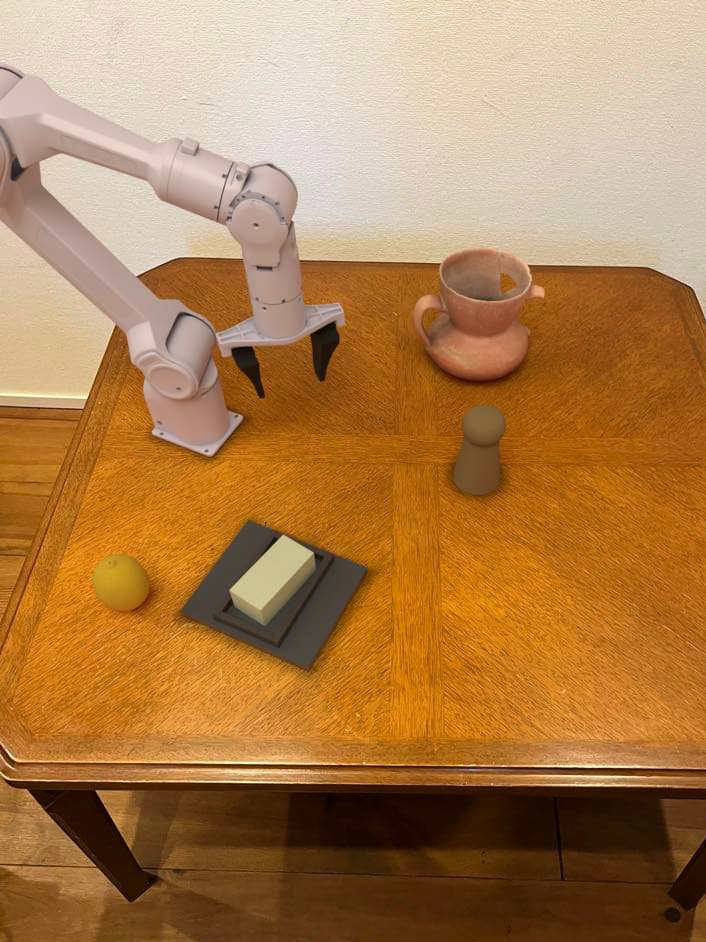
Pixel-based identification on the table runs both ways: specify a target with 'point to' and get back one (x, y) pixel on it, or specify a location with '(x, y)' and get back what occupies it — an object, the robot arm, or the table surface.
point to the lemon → (120, 582)
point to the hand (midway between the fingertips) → (290, 384)
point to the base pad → (298, 621)
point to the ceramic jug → (478, 315)
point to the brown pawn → (480, 450)
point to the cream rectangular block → (273, 580)
